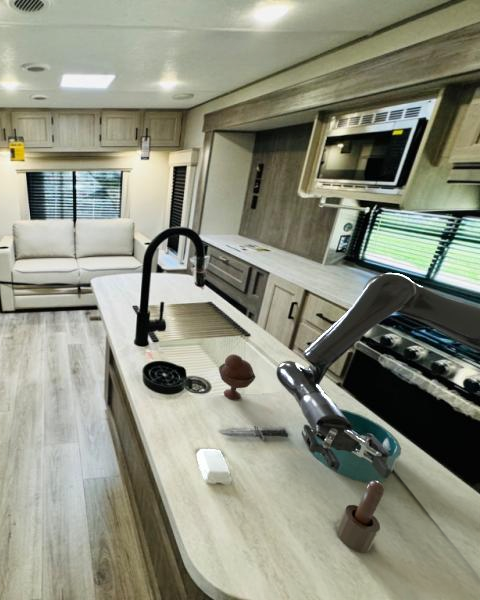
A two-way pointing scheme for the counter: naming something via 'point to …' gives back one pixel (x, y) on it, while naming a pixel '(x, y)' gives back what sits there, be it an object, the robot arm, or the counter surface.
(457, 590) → the counter surface
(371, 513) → the brown rounded rod
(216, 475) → the soap
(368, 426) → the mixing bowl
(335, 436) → the robot arm
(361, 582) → the counter surface
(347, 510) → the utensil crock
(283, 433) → the knife
